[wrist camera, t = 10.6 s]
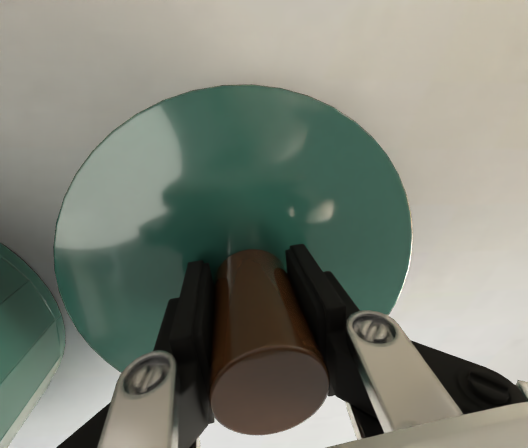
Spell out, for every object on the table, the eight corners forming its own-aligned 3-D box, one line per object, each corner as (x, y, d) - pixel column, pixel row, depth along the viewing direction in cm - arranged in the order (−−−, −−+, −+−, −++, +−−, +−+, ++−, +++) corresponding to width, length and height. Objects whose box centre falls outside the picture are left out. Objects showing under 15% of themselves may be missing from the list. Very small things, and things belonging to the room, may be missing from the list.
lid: (442, 124, 11) (684, 124, 5) (350, 378, 16) (424, 523, 10) (49, 47, 8) (-360, -135, 2) (84, 385, 13) (-25, 590, 7)
